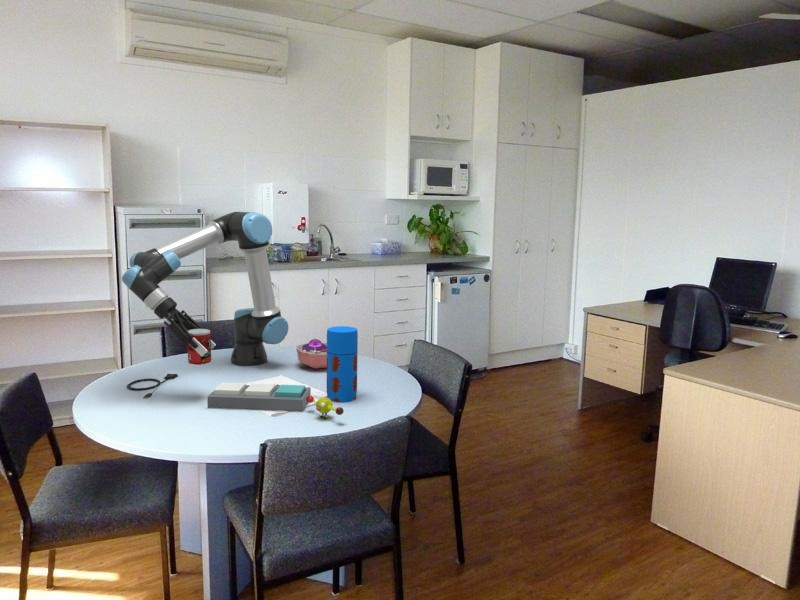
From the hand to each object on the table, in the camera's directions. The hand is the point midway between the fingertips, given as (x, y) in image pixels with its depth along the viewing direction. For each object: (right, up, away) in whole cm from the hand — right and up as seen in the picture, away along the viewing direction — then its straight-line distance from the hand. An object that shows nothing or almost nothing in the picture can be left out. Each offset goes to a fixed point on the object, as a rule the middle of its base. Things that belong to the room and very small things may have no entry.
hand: (209, 350), depth 220 cm
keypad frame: (+18, -18, -1) cm, 26 cm away
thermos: (+45, -18, +7) cm, 49 cm away
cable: (-28, -15, +15) cm, 35 cm away
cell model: (+31, -11, +46) cm, 57 cm away
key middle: (+18, -16, -1) cm, 24 cm away
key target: (+29, -16, -2) cm, 33 cm away
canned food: (-3, -4, +1) cm, 6 cm away
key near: (+8, -16, -1) cm, 18 cm away
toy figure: (+41, -21, -14) cm, 48 cm away
